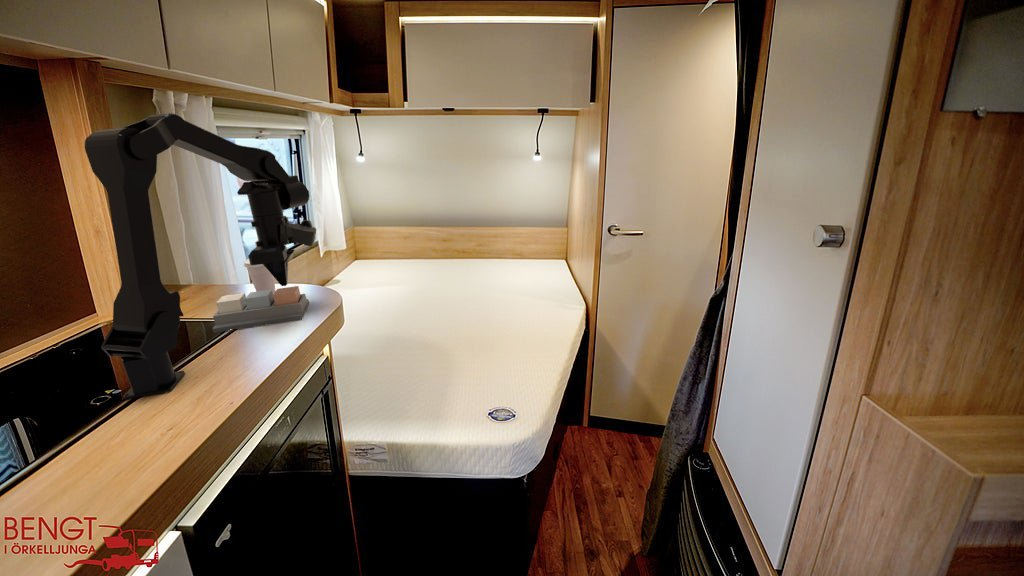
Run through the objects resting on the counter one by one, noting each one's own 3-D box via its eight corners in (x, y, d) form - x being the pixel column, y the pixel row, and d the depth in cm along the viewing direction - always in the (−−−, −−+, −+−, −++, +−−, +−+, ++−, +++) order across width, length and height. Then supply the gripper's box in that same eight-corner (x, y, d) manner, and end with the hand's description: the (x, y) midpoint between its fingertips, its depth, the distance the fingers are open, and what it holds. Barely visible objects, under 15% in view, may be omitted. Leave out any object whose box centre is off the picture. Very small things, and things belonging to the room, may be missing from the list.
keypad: (301, 319, 100) (298, 306, 99) (213, 333, 96) (209, 319, 95) (309, 303, 110) (306, 291, 109) (229, 314, 106) (226, 302, 105)
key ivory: (242, 310, 99) (239, 299, 98) (219, 313, 98) (216, 302, 97) (247, 303, 103) (244, 293, 102) (225, 306, 102) (222, 296, 101)
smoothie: (287, 294, 117) (274, 240, 112) (262, 303, 112) (248, 246, 107) (272, 291, 120) (259, 238, 116) (248, 299, 115) (233, 244, 111)
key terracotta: (297, 302, 102) (295, 291, 101) (275, 305, 101) (273, 294, 100) (300, 296, 106) (298, 285, 105) (279, 299, 105) (277, 288, 104)
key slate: (270, 306, 100) (267, 295, 100) (247, 309, 99) (244, 298, 99) (274, 300, 104) (271, 289, 104) (253, 303, 103) (250, 292, 103)
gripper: (302, 216, 90) (318, 293, 95) (314, 204, 107) (327, 269, 112) (238, 223, 88) (258, 301, 93) (262, 209, 105) (277, 275, 110)
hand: (284, 285), depth 102 cm, fingers closed
